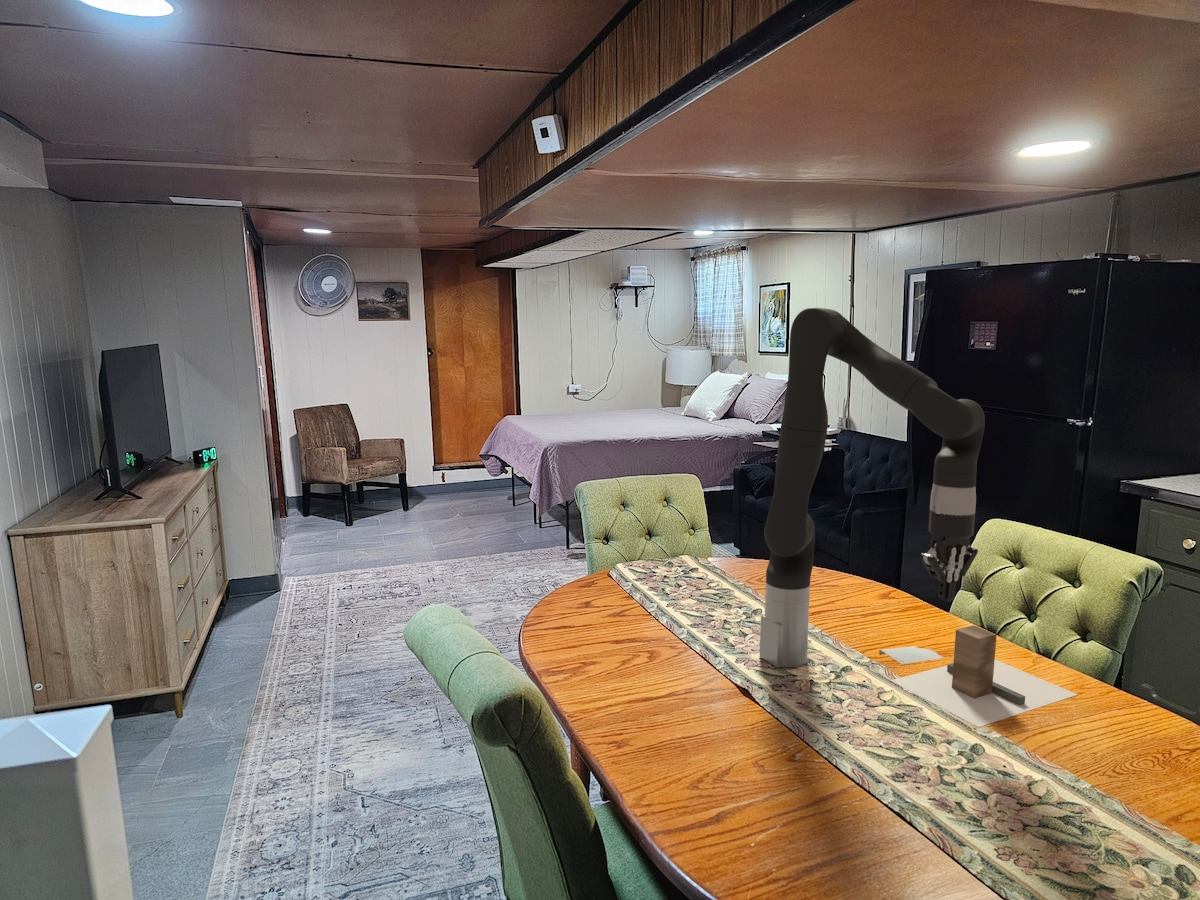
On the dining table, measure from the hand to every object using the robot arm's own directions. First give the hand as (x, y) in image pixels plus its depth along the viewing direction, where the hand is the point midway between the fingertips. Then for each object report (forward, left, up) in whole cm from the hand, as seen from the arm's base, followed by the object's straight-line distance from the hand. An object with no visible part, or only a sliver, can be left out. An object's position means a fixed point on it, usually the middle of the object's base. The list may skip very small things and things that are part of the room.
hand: (946, 599), depth 138 cm
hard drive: (+13, +17, -22) cm, 30 cm away
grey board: (+12, 0, -21) cm, 24 cm away
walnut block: (+9, 0, -20) cm, 22 cm away
